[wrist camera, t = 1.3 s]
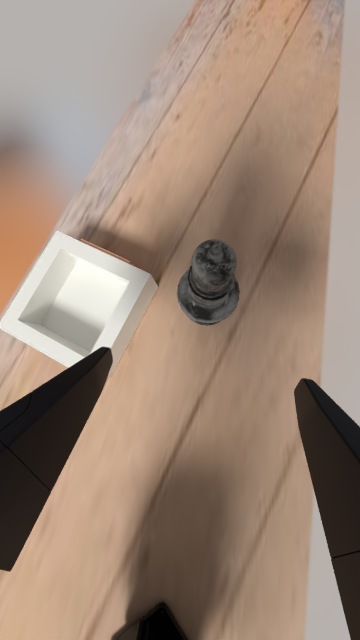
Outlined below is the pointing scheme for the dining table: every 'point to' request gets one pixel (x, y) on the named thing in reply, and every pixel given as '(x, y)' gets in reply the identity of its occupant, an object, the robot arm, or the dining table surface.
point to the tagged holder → (79, 302)
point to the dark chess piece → (210, 284)
